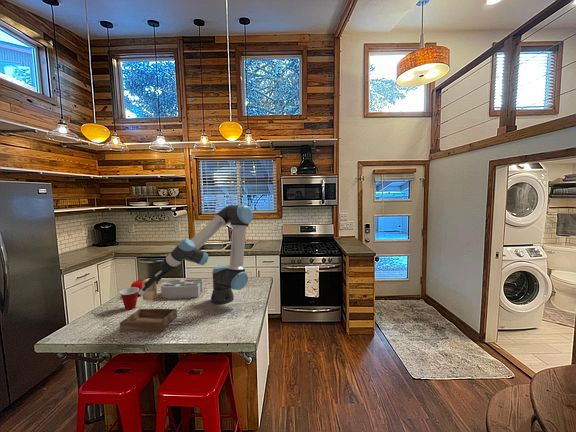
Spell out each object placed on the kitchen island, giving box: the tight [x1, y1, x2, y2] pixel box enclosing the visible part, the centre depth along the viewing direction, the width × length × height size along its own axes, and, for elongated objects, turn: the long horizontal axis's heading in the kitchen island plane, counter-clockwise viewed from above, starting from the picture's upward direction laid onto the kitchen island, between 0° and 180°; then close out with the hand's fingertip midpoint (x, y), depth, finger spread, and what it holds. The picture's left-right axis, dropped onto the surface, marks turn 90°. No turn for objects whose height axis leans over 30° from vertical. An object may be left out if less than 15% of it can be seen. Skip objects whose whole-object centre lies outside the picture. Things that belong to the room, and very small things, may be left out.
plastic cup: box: [119, 286, 139, 311], centre depth 172 cm, size 11×11×12 cm
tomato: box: [130, 279, 145, 296], centre depth 197 cm, size 12×12×11 cm
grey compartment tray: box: [160, 278, 205, 300], centre depth 197 cm, size 17×28×9 cm, turn 94°
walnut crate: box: [119, 308, 178, 333], centre depth 150 cm, size 18×22×5 cm
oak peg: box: [142, 278, 158, 301], centre depth 148 cm, size 5×5×10 cm
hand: (143, 292), depth 148 cm, fingers closed on oak peg, 5 cm apart
